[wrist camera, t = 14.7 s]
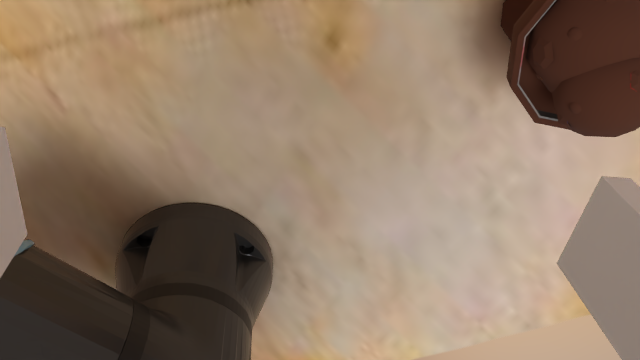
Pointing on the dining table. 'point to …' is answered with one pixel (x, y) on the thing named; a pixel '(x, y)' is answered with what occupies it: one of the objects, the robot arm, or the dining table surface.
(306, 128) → the dining table surface
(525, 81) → the ice cream bowl
